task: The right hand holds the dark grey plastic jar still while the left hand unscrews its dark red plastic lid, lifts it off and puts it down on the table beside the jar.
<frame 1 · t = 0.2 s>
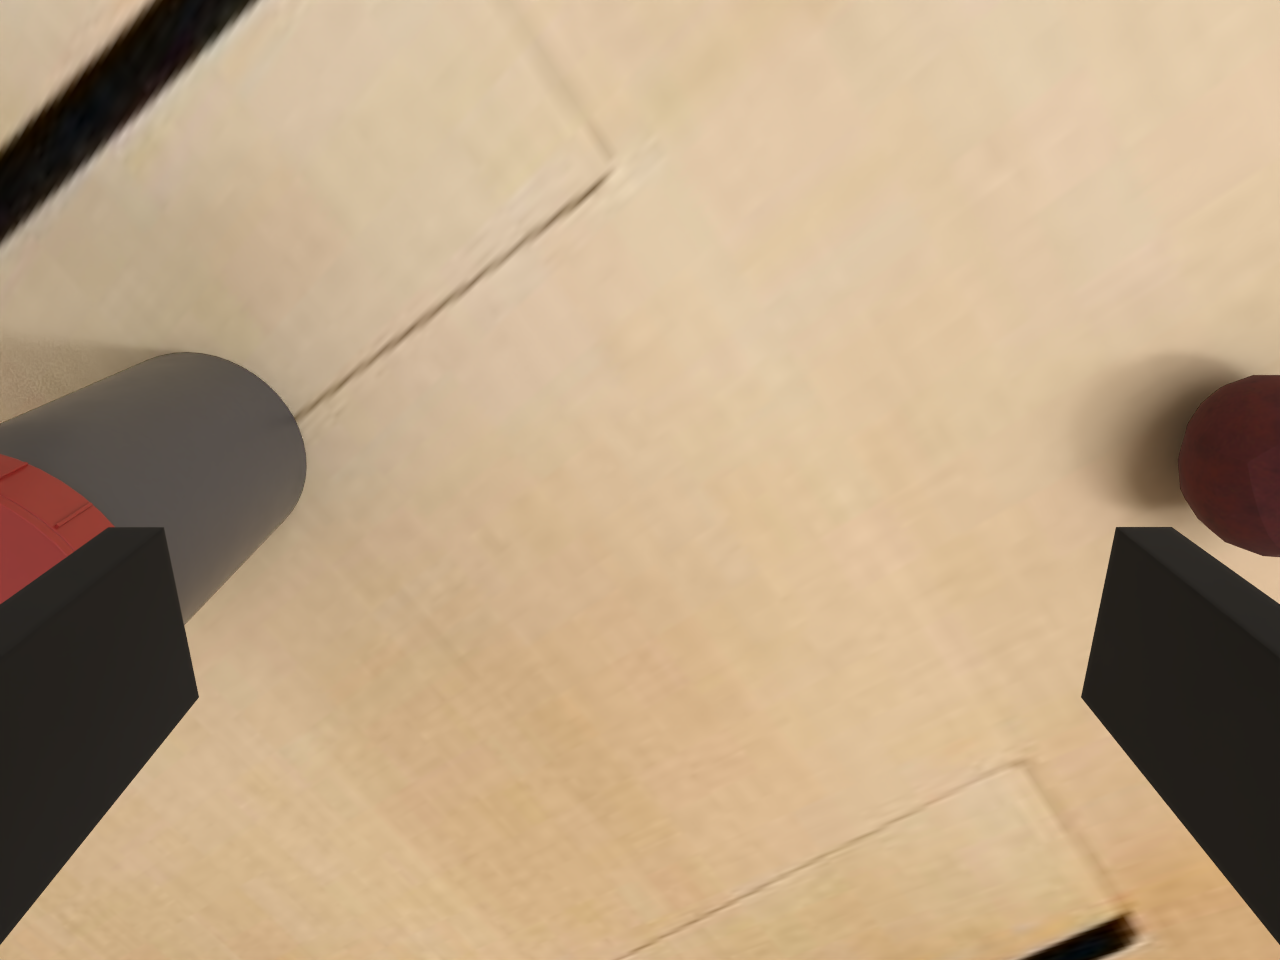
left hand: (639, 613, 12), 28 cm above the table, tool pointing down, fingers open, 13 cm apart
jar: (204, 452, 41), on the table
dark red ball: (1223, 436, 41), on the table
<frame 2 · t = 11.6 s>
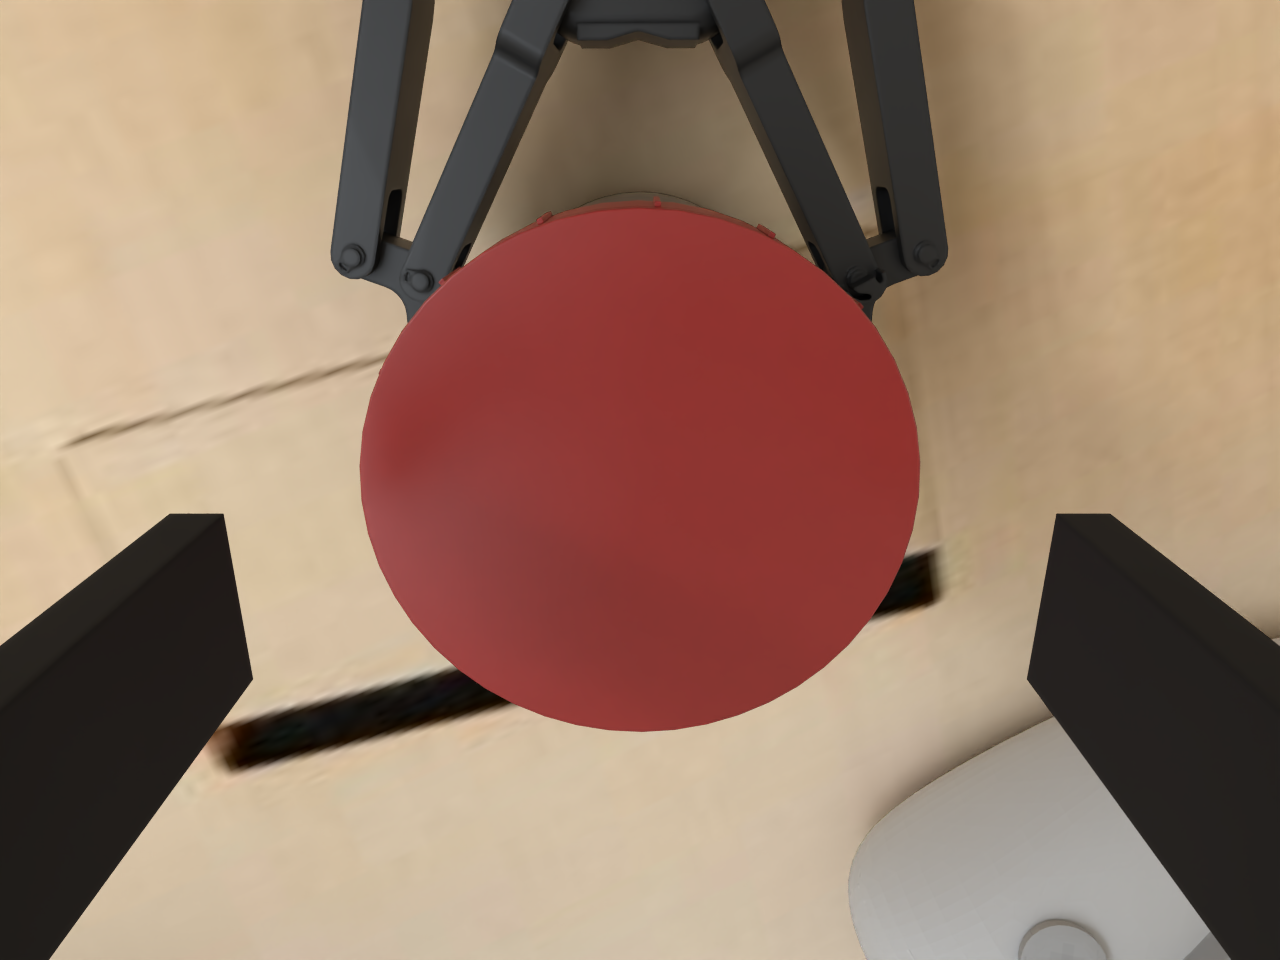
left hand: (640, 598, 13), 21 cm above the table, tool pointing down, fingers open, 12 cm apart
jar: (639, 327, 32), on the table, touching right hand
lid: (639, 492, 17), point 17 cm above the table, screwed on, not yet turned
projector: (1104, 799, 40), on the table
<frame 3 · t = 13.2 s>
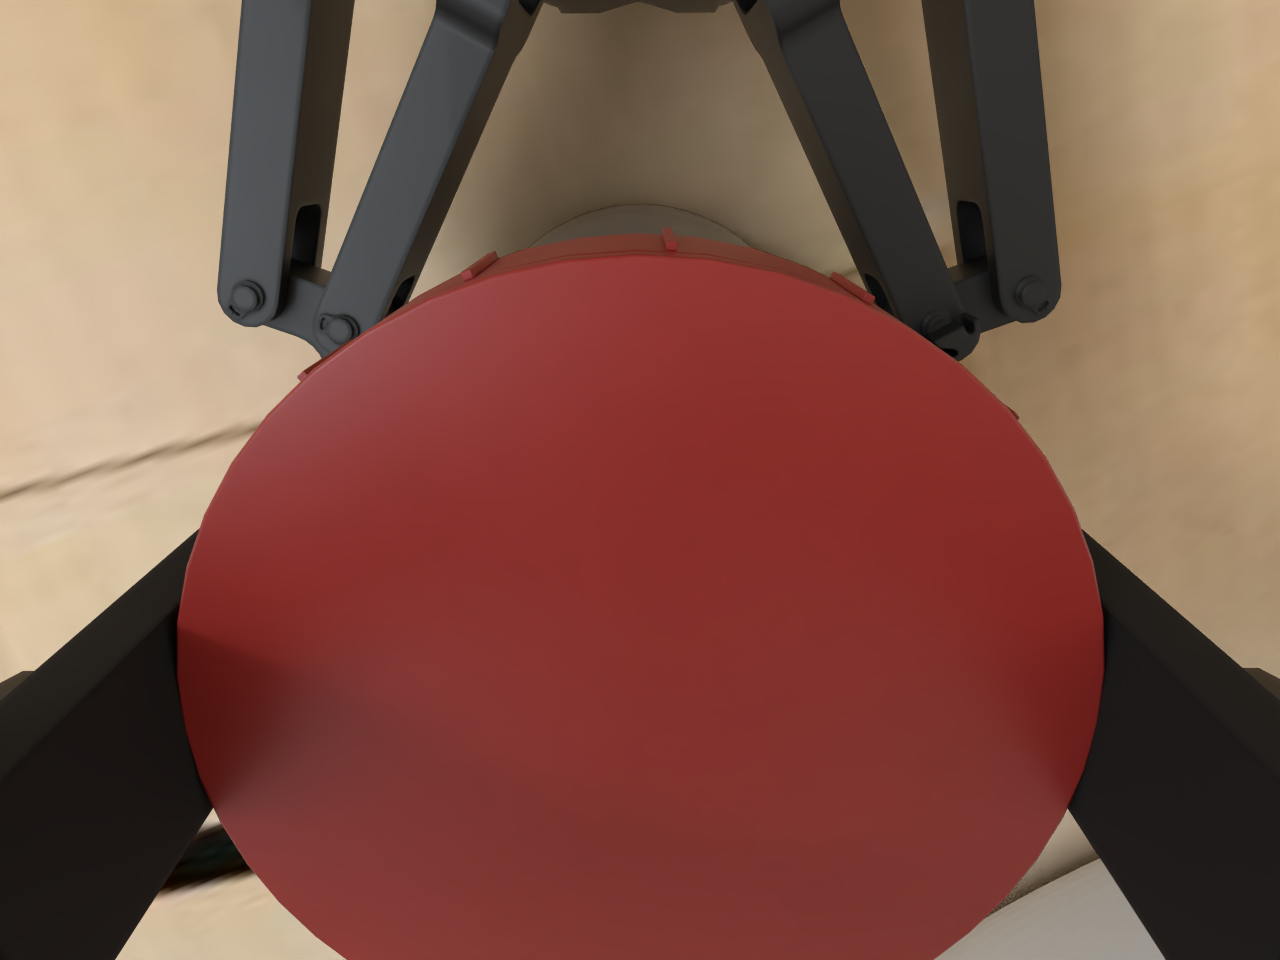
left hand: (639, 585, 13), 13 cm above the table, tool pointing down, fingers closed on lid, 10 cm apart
jar: (640, 372, 26), on the table, touching right hand
lid: (640, 706, 10), point 17 cm above the table, screwed on, not yet turned, touching left hand
projector: (1195, 926, 33), on the table
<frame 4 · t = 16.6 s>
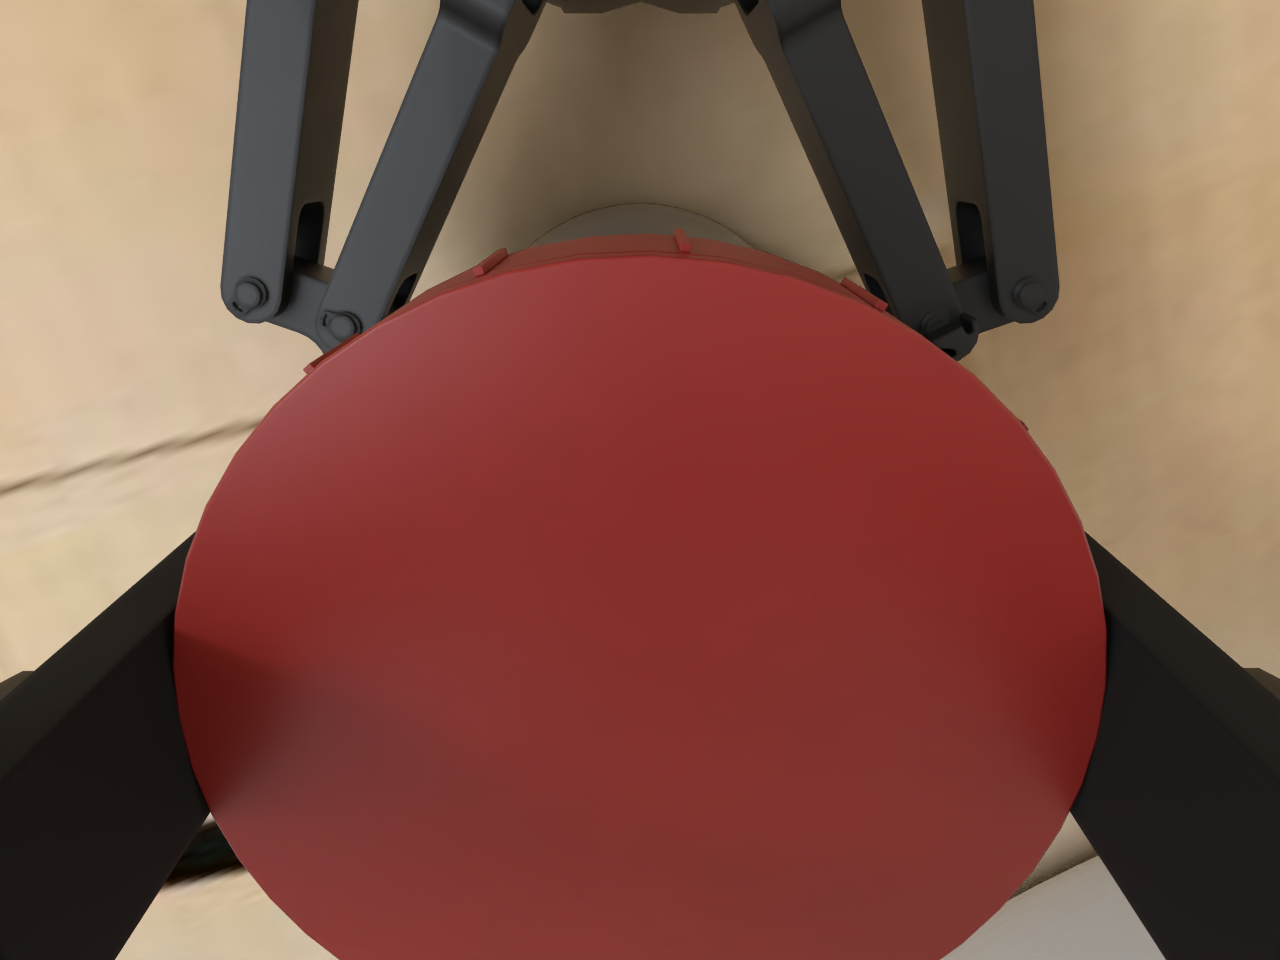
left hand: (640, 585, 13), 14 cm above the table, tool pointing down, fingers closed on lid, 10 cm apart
jar: (640, 371, 26), on the table, touching right hand
lid: (639, 709, 10), point 17 cm above the table, turned 111° so far, risen 0.2 cm, still on its thread, touching left hand
projector: (1190, 925, 33), on the table
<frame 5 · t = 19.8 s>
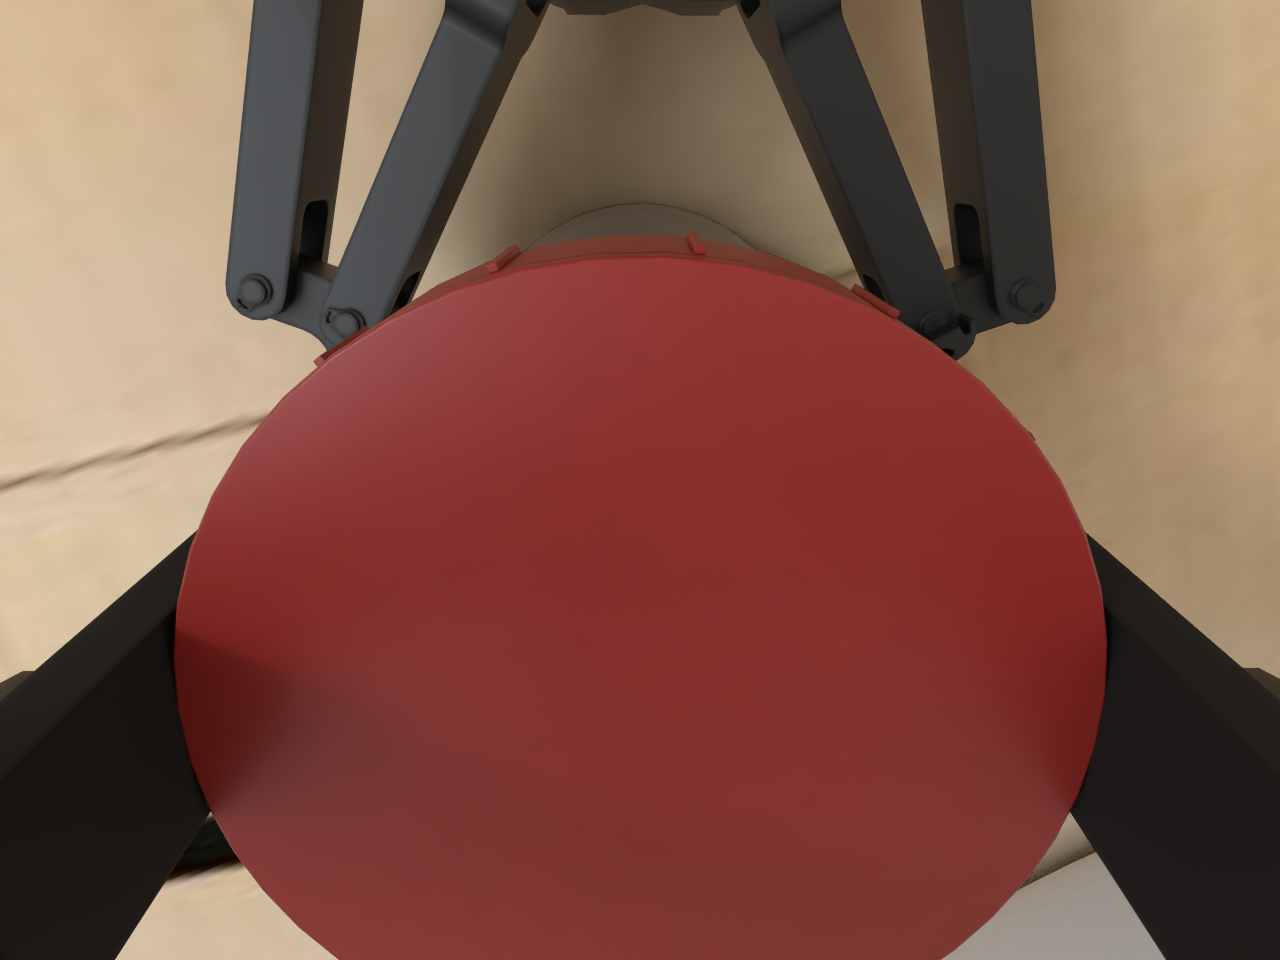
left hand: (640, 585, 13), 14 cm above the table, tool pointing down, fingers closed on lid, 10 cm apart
jar: (640, 370, 26), on the table, touching right hand
lid: (640, 710, 10), point 17 cm above the table, turned 223° so far, risen 0.4 cm, still on its thread, touching left hand
projector: (1183, 923, 34), on the table
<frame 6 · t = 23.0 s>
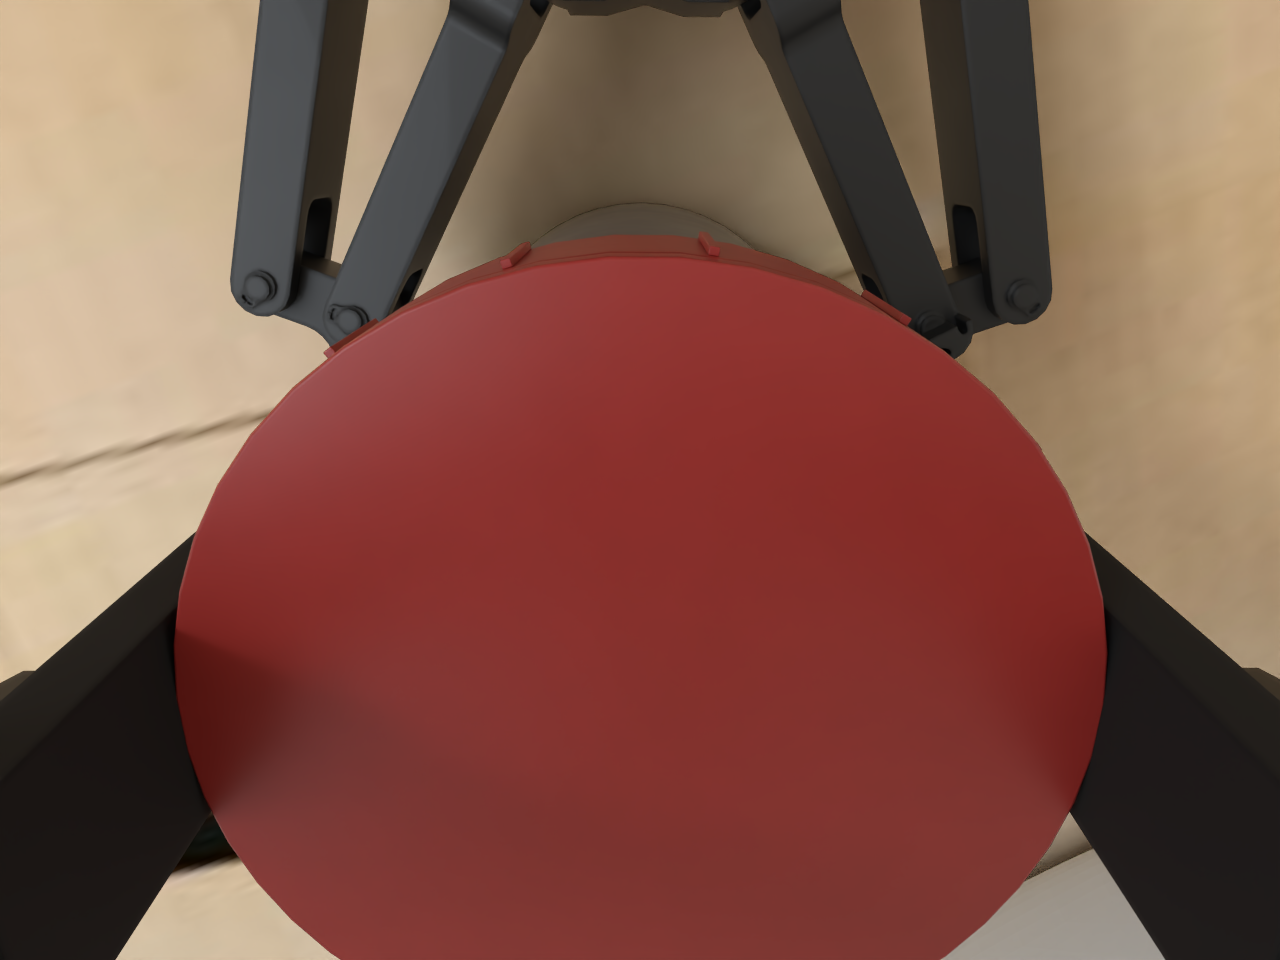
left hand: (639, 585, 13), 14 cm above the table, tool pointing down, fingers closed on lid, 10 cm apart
jar: (640, 368, 26), on the table, touching right hand
lid: (640, 709, 10), point 17 cm above the table, turned 334° so far, risen 0.6 cm, still on its thread, touching left hand
projector: (1177, 921, 34), on the table
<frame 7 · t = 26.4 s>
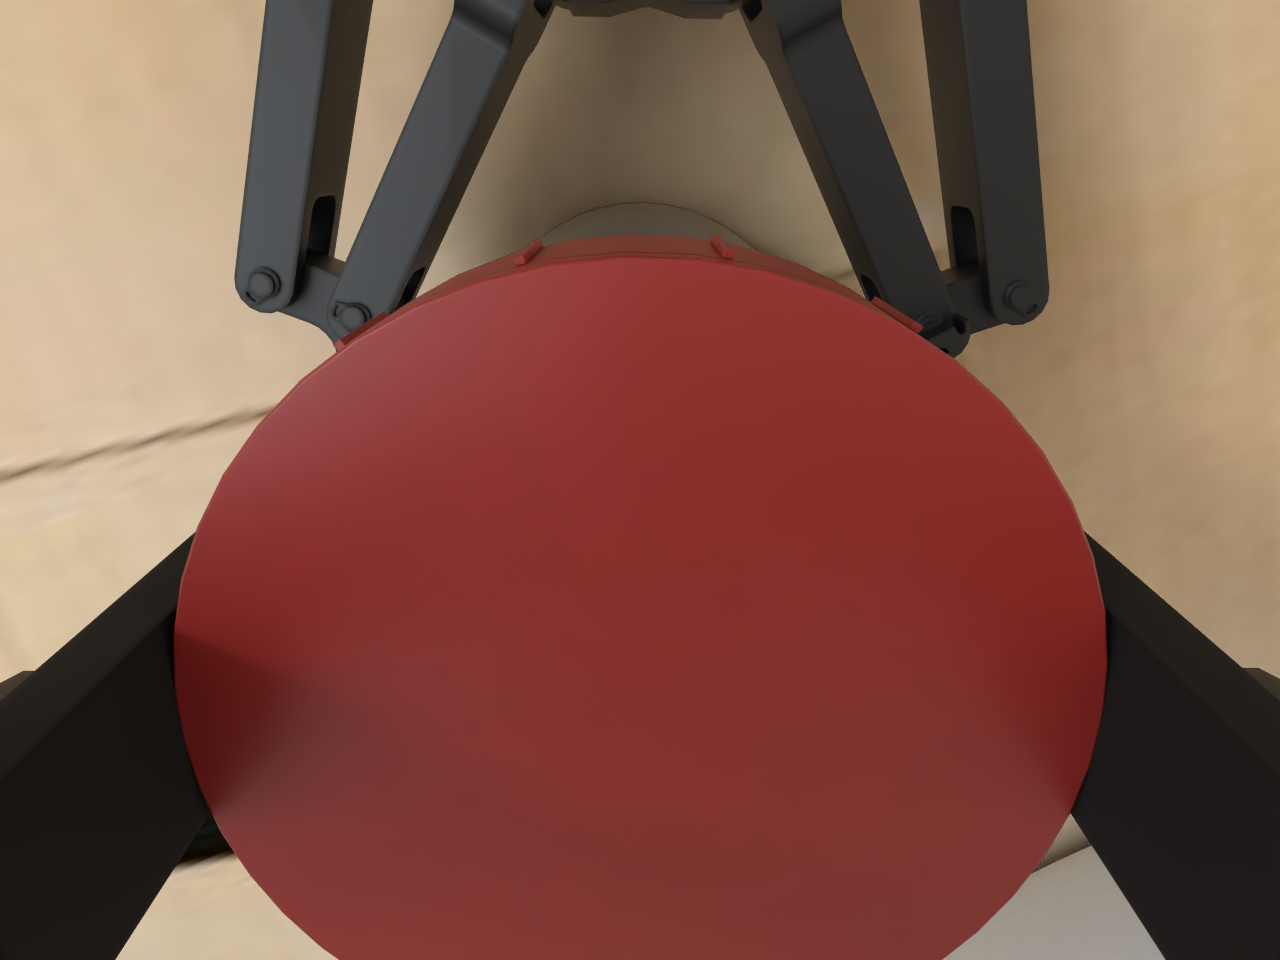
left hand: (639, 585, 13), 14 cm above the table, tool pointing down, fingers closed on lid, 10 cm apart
jar: (640, 367, 27), on the table, touching right hand
lid: (640, 710, 10), point 17 cm above the table, turned 445° so far, risen 0.7 cm, still on its thread, touching left hand
projector: (1171, 920, 34), on the table
when the left hand's fingers open (1 cm above the table, at t = 34.1 s): lid drops 2 cm, point 2 cm above the table.
when the right hand's fingers open (6 cm above the table, at t = 35.1 s): jar stays where it is, on the table.
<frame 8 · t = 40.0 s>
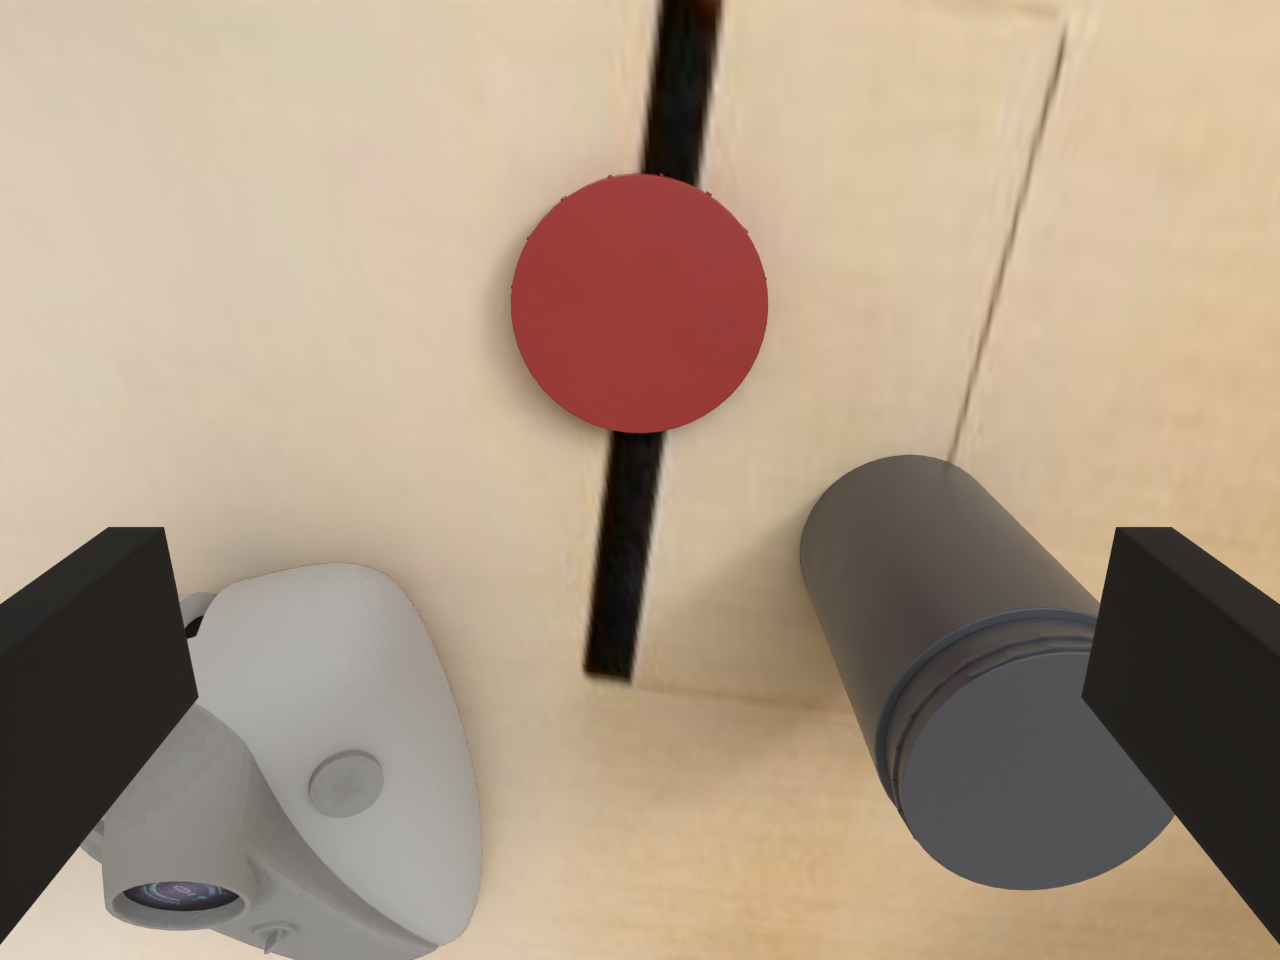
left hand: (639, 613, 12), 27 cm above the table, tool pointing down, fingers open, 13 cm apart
jar: (899, 548, 42), on the table
lid: (639, 309, 36), point 2 cm above the table, off its thread
projector: (345, 743, 46), on the table
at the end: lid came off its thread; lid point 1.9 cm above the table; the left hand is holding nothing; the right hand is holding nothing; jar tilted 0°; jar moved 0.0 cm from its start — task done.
